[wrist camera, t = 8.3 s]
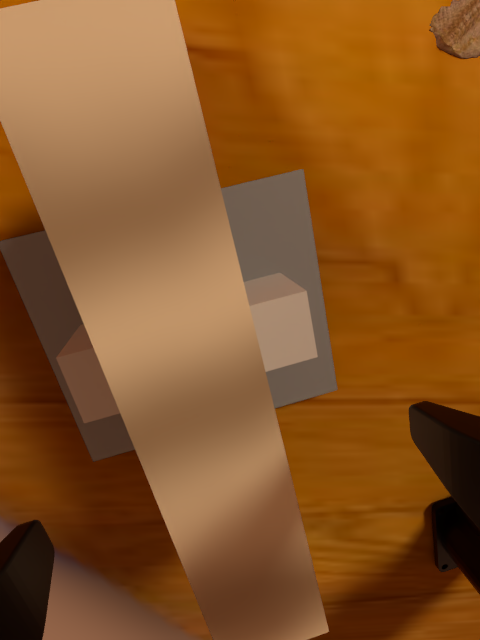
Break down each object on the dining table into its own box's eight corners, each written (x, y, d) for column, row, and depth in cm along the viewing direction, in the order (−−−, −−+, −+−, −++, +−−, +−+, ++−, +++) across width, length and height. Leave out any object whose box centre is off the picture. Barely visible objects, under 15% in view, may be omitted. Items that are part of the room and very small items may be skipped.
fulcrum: (330, 381, 22) (372, 430, 18) (96, 450, 21) (75, 521, 17) (296, 170, 19) (338, 160, 14) (6, 239, 17) (-56, 254, 13)
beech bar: (289, 522, 19) (329, 631, 14) (212, 549, 18) (225, 669, 14) (170, 61, 12) (167, -27, 7) (44, 90, 12) (-42, 17, 7)
